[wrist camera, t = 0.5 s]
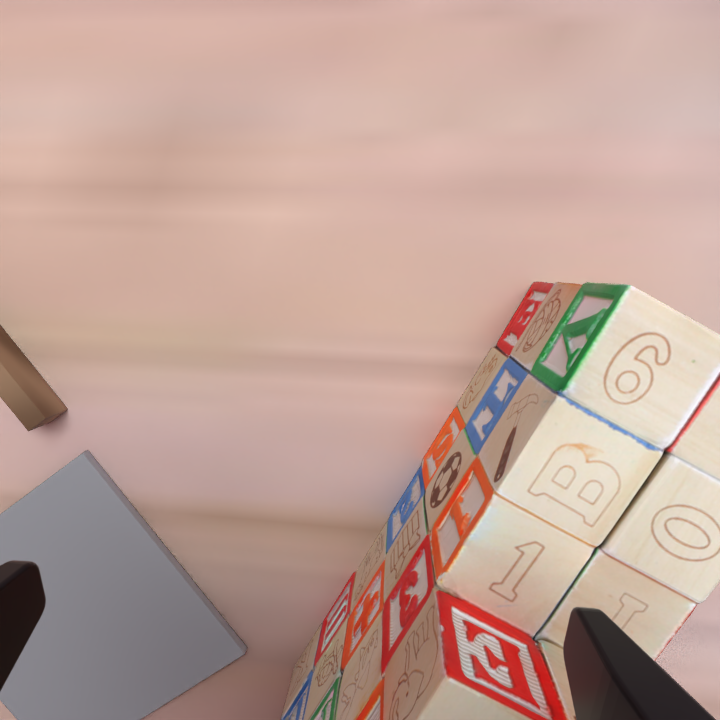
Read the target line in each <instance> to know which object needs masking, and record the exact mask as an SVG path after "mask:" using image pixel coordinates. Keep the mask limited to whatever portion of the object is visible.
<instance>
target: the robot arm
mask: <svg viewBox="0 0 720 720" xmlns="http://www.w3.org/2000/svg"><path fill="white" fill-rule="evenodd" d="M45 604H46V596H45V592H44V587H43V583H42V579H41V574H40V570H39V567H38V565H37V564H36V563H34V562H31V561H19V560H12V561H8V562H6V563H4V564H2V565H0V691H1V690H2V688H3V686H4V684H5V682H6V680H7V679H8V677H9V675H10V673H11V671H12V669H13V668H14V666H15V664H16V662H17V660H18V658H19V656H20V655H21V653H22V651H23V649H24V647H25V645H26V644H27V642H28V640H29V638H30V636H31V634H32V633H33V631H34V629H35V627H36V625H37V623H38V621H39V620H40V618H41V616H42V614H43V611H44V609H45ZM563 655H564V662H565V667H566V672H567V677H568V682H569V686H570V691H571V696H572V701H573V706H574V711H575V715H576V720H716V719H715V718H714V717H713V716H711V715H710V714H709V713H708V712H707V711H706V710H705V709H704V708H703V707H702V706H701V705H700V704H699V703H698V702H697V701H696V700H695V699H694V698H693V697H692V696H691V695H690V694H689V693H687V692H686V691H685V690H684V689H683V688H682V687H681V686H680V685H679V684H678V683H677V682H676V681H675V680H674V679H673V678H672V677H671V676H670V675H669V674H668V673H667V672H666V671H665V670H664V669H662V668H661V667H660V666H659V665H658V664H657V663H656V662H655V661H654V660H653V659H652V658H651V657H650V656H649V655H648V654H647V653H646V652H645V651H644V650H643V649H642V648H641V647H640V646H639V645H637V644H636V643H635V642H634V641H633V640H632V639H631V638H630V637H629V636H628V635H627V634H626V633H625V632H624V631H623V630H622V629H621V628H620V627H619V626H618V625H617V624H616V623H615V622H613V621H612V620H611V619H610V618H609V617H608V616H607V615H606V614H605V613H604V612H603V611H601V610H600V609H597V608H587V607H575V608H573V609H572V611H571V614H570V618H569V622H568V626H567V631H566V635H565V640H564V645H563Z"/></svg>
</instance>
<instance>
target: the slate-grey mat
mask: <svg viewBox="0 0 720 720" xmlns="http://www.w3.org/2000/svg"><path fill="white" fill-rule="evenodd" d="M12 560H19V561H31V562H34V563H36V564H37V565H38V567H39V570H40V574H41V579H42V583H43V587H44V592H45V596H46V604H45V609H44V611H43V614H42V616H41V618H40V620H39V621H38V623H37V625H36V627H35V629H34V631H33V633H32V634H31V636H30V638H29V640H28V642H27V644H26V645H25V647H24V649H23V651H22V653H21V655H20V656H19V658H18V660H17V662H16V664H15V666H14V668H13V669H12V671H11V673H10V675H9V677H8V679H7V680H6V682H5V684H4V686H3V688H2V690H1V691H0V700H1V702H2V703H3V704H4V705H5V706H6V707H7V708H8V710H9V711H10V712H11V713H12V714H13V715H14V716H15V717H16V719H17V720H140V719H142V718H144V717H145V716H147V715H148V714H150V713H151V712H153V711H155V710H156V709H158V708H159V707H161V706H163V705H164V704H166V703H167V702H169V701H171V700H172V699H174V698H175V697H177V696H179V695H180V694H182V693H183V692H185V691H187V690H188V689H190V688H191V687H193V686H195V685H196V684H198V683H199V682H201V681H203V680H204V679H206V678H207V677H209V676H211V675H212V674H214V673H215V672H217V671H218V670H220V669H222V668H223V667H225V666H226V665H228V664H230V663H231V662H233V661H234V660H236V659H238V658H239V657H241V656H242V655H244V654H245V652H246V650H247V647H246V646H245V644H244V643H243V642H242V641H241V639H240V638H239V637H238V636H237V634H236V633H235V632H234V631H233V629H232V628H231V627H230V626H229V625H228V623H227V622H226V621H225V620H224V618H223V617H222V616H221V615H220V613H219V612H218V611H217V610H216V608H215V607H214V606H213V605H212V603H211V602H210V601H209V600H208V598H207V597H206V596H205V595H204V594H203V592H202V591H201V590H200V589H199V587H198V586H197V585H196V584H195V582H194V581H193V580H192V579H191V577H190V576H189V575H188V574H187V572H186V571H185V570H184V569H183V568H182V566H181V565H180V564H179V563H178V561H177V560H176V559H175V558H174V556H173V555H172V554H171V553H170V551H169V550H168V549H167V548H166V546H165V545H164V544H163V543H162V541H161V540H160V539H159V538H158V537H157V535H156V534H155V533H154V532H153V530H152V529H151V528H150V527H149V525H148V524H147V523H146V522H145V520H144V519H143V518H142V517H141V515H140V514H139V513H138V512H137V511H136V509H135V508H134V507H133V506H132V504H131V503H130V502H129V501H128V499H127V498H126V497H125V496H124V494H123V493H122V492H121V491H120V489H119V488H118V487H117V486H116V484H115V483H114V482H113V481H112V480H111V478H110V477H109V476H108V475H107V473H106V472H105V471H104V470H103V468H102V467H101V466H100V465H99V463H98V462H97V461H96V460H95V458H94V457H93V456H92V455H91V454H90V452H89V451H88V450H87V451H85V452H83V453H82V454H81V455H79V456H78V457H77V458H75V459H74V460H73V461H71V462H70V463H69V464H67V465H66V466H65V467H63V468H62V469H61V470H59V471H58V472H56V473H55V474H54V475H52V476H51V477H50V478H48V479H47V480H46V481H44V482H43V483H42V484H40V485H39V486H38V487H36V488H35V489H34V490H32V491H31V492H30V493H28V494H27V495H26V496H24V497H23V498H22V499H20V500H19V501H18V502H16V503H15V504H14V505H12V506H11V507H10V508H8V509H7V510H6V511H4V512H3V513H2V514H0V565H2V564H4V563H6V562H8V561H12Z"/></svg>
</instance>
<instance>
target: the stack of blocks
mask: <svg viewBox="0 0 720 720" xmlns="http://www.w3.org/2000/svg"><path fill="white" fill-rule="evenodd" d="M719 582H720V335H719V334H718V333H716V332H714V331H712V330H711V329H709V328H707V327H706V326H704V325H702V324H700V323H698V322H697V321H695V320H693V319H691V318H689V317H688V316H686V315H684V314H682V313H680V312H678V311H676V310H674V309H673V308H671V307H669V306H668V305H666V304H665V303H662V302H660V301H658V300H656V299H655V298H653V297H652V296H650V295H648V294H647V293H645V292H643V291H641V290H639V289H637V288H635V287H633V286H631V285H626V284H611V283H590V282H587V283H585V284H583V285H580V284H573V283H561V282H557V283H555V284H553V283H547V282H533V284H532V285H531V287H530V289H529V290H528V292H527V294H526V296H525V297H524V299H523V301H522V302H521V304H520V306H519V307H518V309H517V311H516V312H515V314H514V316H513V317H512V319H511V321H510V323H509V324H508V326H507V327H506V329H505V331H504V333H503V334H502V336H501V337H500V339H499V340H498V343H497V346H496V347H493V348H491V350H490V351H489V353H488V355H487V356H486V358H485V359H484V361H483V363H482V364H481V366H480V368H479V369H478V371H477V372H476V374H475V376H474V377H473V379H472V381H471V382H470V384H469V386H468V387H467V389H466V391H465V392H464V394H463V395H462V397H461V399H460V400H459V403H458V405H457V407H456V408H455V409H454V410H453V411H452V413H451V414H450V416H449V418H448V419H447V421H446V422H445V424H444V426H443V427H442V429H441V431H440V432H439V434H438V435H437V437H436V439H435V440H434V442H433V443H432V445H431V447H430V448H429V450H428V452H427V453H426V455H425V456H424V458H423V460H422V465H421V467H420V468H419V470H418V471H417V473H416V474H415V476H414V478H413V479H412V481H411V483H410V484H409V486H408V487H407V489H406V491H405V492H404V494H403V495H402V497H401V499H400V500H399V502H398V503H397V505H396V507H395V508H394V510H393V511H392V513H391V515H390V517H389V520H388V521H387V523H386V524H385V525H384V527H383V529H382V530H381V532H380V533H379V535H378V537H377V538H376V540H375V542H374V543H373V545H372V546H371V548H370V550H369V551H368V553H367V555H366V556H365V558H364V560H363V561H362V563H361V565H360V566H359V568H358V570H357V571H356V572H354V573H353V574H352V576H351V578H350V579H349V581H348V582H347V584H346V585H345V587H344V589H343V590H342V592H341V594H340V595H339V597H338V599H337V600H336V602H335V603H334V605H333V606H332V608H331V610H330V611H329V613H328V615H327V616H326V618H325V619H324V621H323V623H322V624H321V625H320V626H319V628H318V630H317V631H316V633H315V634H314V636H313V638H312V639H311V641H310V642H309V644H308V646H307V647H306V649H305V650H304V652H303V654H302V655H301V657H300V658H299V660H298V662H297V663H296V665H295V667H294V670H293V673H292V677H291V681H290V686H289V691H288V694H287V697H286V701H285V705H284V708H283V712H282V717H281V720H576V715H575V711H574V706H573V701H572V696H571V691H570V686H569V682H568V677H567V672H566V667H565V662H564V655H563V645H564V640H565V635H566V631H567V626H568V622H569V618H570V614H571V611H572V609H573V608H575V607H587V608H597V609H600V610H601V611H603V612H604V613H605V614H606V615H607V616H608V617H609V618H610V619H611V620H612V621H613V622H615V623H616V624H617V625H618V626H619V627H620V628H621V629H622V630H623V631H624V632H625V633H626V634H627V635H628V636H629V637H630V638H631V639H632V640H633V641H634V642H635V643H636V644H637V645H639V646H640V647H641V648H642V649H643V650H644V651H645V652H646V653H647V654H648V655H649V656H650V657H651V658H652V659H653V660H654V661H656V659H657V658H658V657H659V655H660V654H661V653H662V651H663V650H664V649H665V647H666V646H667V645H668V643H669V642H670V641H671V639H672V638H673V637H674V635H675V634H676V633H677V631H678V630H679V629H680V628H681V626H682V625H683V624H684V622H685V621H686V620H687V618H688V617H689V616H690V615H691V613H692V612H693V610H694V609H695V607H696V605H697V604H699V603H702V602H704V601H705V600H706V599H707V597H708V596H709V595H710V593H711V592H712V591H713V590H714V588H715V587H716V586H717V584H718V583H719Z"/></svg>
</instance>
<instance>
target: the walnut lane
mask: <svg viewBox="0 0 720 720" xmlns="http://www.w3.org/2000/svg"><path fill="white" fill-rule="evenodd" d="M0 397H1V398H2V399H3V401H4V402H5V403H6V404H7V406H8V407H9V408H10V409H11V410H12V412H13V413H14V414H15V415H16V417H17V418H18V419H19V420H20V421H21V423H22V424H23V425H24V426H25V428H26V429H27V430H28V431H30V430H33V429H35V428H37V427H40V426H42V425H44V424H47V423H49V422H51V421H53V420H54V419H55V418H57V417H58V416H59V415H61V414H62V413H63V412H64V411H66V410H67V408H66V406H65V405H64V404H63V403H62V401H61V400H60V399H59V398H58V397H57V395H56V394H55V393H54V392H53V390H52V389H51V388H50V387H49V385H48V384H47V383H46V382H45V380H44V379H43V378H42V377H41V375H40V374H39V373H38V372H37V370H36V369H35V368H34V367H33V365H32V364H31V363H30V362H29V360H28V359H27V358H26V357H25V355H24V354H23V353H22V352H21V350H20V349H19V348H18V347H17V346H16V344H15V343H14V342H13V341H12V339H11V338H10V337H9V336H8V334H7V333H6V332H5V331H4V329H3V328H2V327H1V326H0Z"/></svg>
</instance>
